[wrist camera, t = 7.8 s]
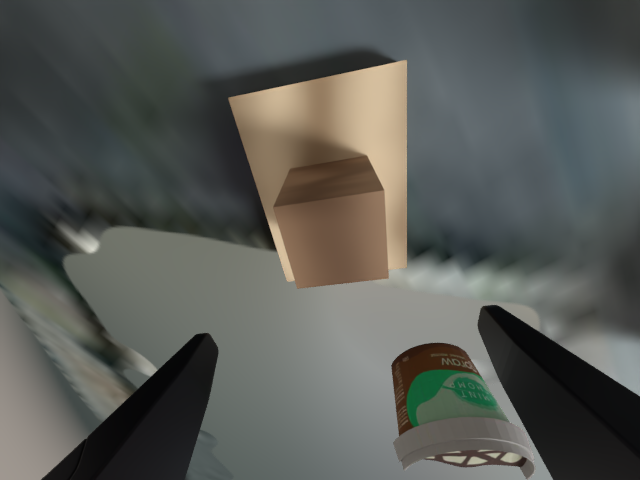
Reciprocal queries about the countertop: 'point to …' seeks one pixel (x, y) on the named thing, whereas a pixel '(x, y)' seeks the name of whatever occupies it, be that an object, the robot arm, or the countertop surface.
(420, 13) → the countertop surface
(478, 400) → the food container
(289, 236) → the walnut block
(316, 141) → the oak base
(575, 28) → the countertop surface
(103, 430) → the robot arm
